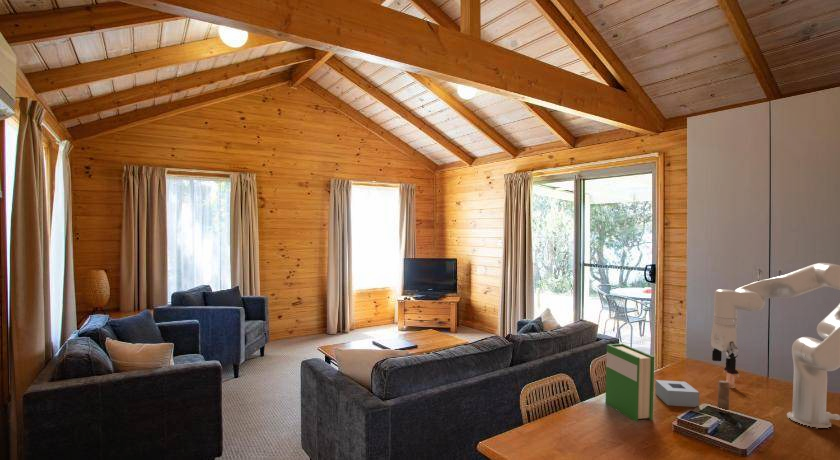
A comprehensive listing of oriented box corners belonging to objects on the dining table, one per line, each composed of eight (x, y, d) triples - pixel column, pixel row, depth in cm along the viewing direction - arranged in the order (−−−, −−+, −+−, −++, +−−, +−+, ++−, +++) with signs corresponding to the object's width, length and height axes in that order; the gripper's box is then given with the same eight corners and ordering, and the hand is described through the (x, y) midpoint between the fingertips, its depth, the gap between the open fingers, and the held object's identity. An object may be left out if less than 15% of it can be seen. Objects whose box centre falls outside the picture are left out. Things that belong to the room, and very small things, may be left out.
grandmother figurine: (719, 384, 205) (719, 357, 205) (724, 383, 207) (725, 356, 207) (736, 390, 198) (737, 362, 198) (742, 389, 200) (743, 361, 200)
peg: (725, 410, 177) (726, 380, 176) (730, 414, 173) (731, 384, 173) (715, 410, 177) (716, 380, 177) (720, 414, 173) (721, 383, 173)
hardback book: (652, 420, 167) (654, 356, 167) (635, 421, 166) (637, 357, 165) (621, 401, 184) (622, 343, 184) (605, 402, 183) (606, 344, 182)
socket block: (684, 395, 192) (685, 381, 191) (698, 407, 180) (699, 392, 180) (655, 393, 193) (655, 380, 193) (667, 405, 181) (667, 390, 181)
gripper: (703, 316, 184) (702, 357, 184) (727, 326, 166) (725, 371, 167) (723, 317, 183) (721, 358, 183) (749, 327, 165) (747, 372, 166)
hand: (723, 364), depth 175 cm, fingers open, 9 cm apart
